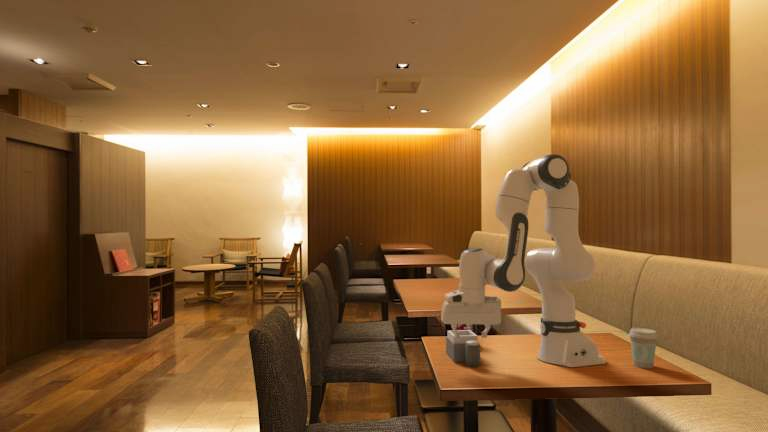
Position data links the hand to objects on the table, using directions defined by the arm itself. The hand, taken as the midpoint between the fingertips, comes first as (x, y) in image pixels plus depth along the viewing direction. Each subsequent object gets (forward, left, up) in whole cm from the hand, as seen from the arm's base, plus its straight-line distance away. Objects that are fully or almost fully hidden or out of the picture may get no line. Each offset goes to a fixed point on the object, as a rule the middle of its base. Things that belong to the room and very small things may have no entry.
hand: (470, 337), depth 159 cm
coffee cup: (-58, +7, -10) cm, 59 cm away
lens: (-1, 0, -9) cm, 9 cm away
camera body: (0, -10, -9) cm, 13 cm away
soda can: (-6, -28, -10) cm, 30 cm away
